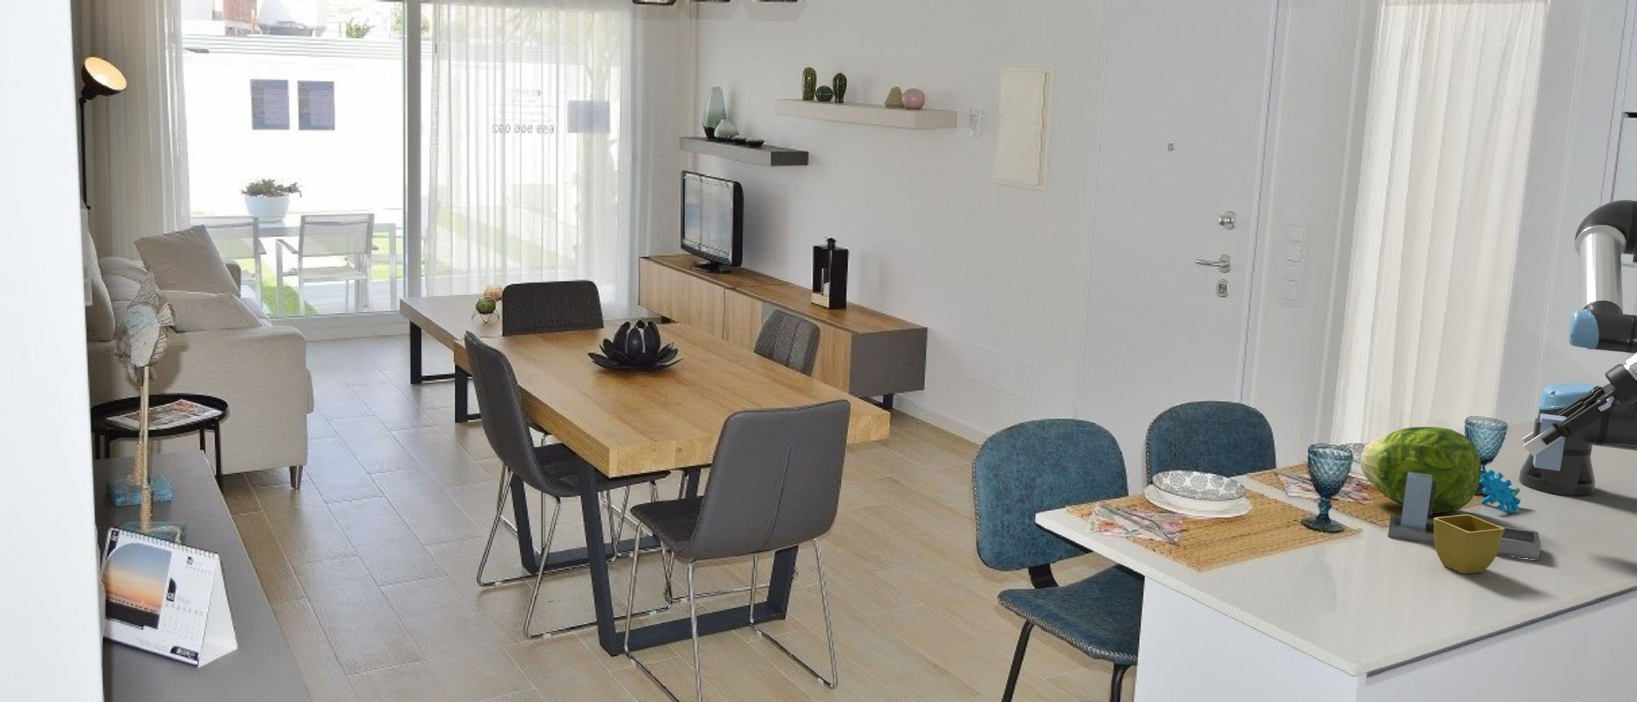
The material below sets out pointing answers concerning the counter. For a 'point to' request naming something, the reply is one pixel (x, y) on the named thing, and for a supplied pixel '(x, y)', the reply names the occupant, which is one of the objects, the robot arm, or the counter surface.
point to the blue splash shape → (1499, 491)
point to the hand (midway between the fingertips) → (1527, 447)
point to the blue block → (1554, 452)
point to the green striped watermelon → (1424, 464)
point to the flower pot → (1466, 542)
